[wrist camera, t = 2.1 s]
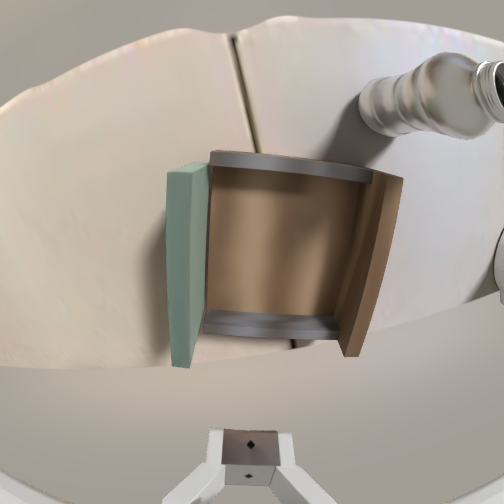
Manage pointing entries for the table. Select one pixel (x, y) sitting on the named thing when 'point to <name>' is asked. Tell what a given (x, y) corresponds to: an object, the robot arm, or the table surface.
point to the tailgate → (186, 256)
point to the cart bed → (297, 247)
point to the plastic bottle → (437, 98)
